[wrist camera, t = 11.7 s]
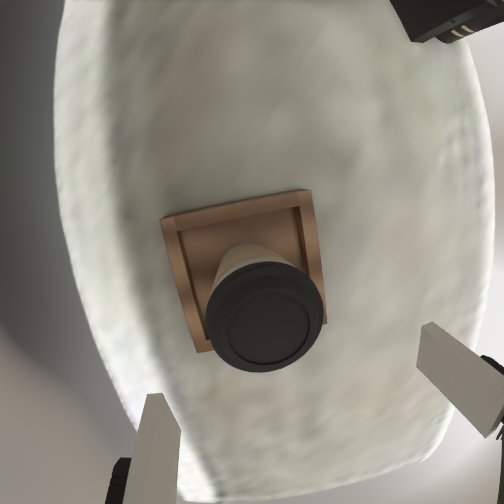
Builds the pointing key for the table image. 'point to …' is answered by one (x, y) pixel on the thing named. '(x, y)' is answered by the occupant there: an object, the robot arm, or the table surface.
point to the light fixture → (447, 17)
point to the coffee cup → (262, 310)
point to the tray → (233, 233)
